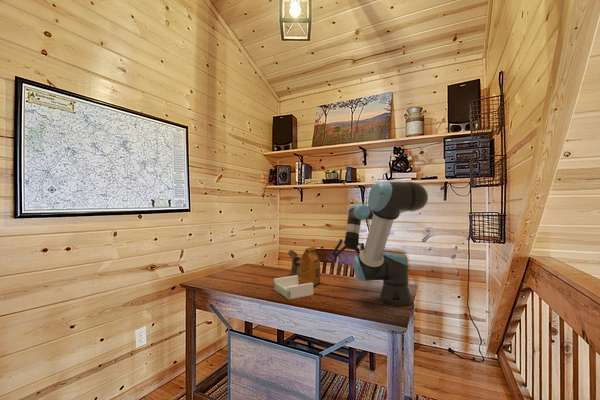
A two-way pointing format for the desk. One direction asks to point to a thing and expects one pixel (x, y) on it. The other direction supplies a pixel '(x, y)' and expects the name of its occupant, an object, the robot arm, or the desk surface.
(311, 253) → the coffee package
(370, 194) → the robot arm
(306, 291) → the tray
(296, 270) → the wooden mug
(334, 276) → the desk surface
